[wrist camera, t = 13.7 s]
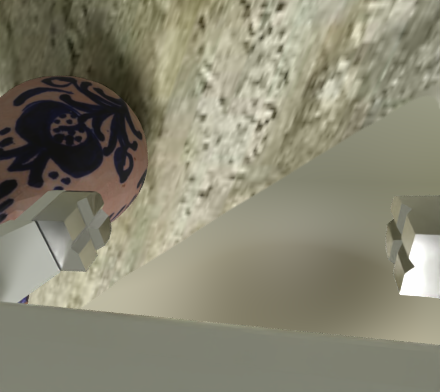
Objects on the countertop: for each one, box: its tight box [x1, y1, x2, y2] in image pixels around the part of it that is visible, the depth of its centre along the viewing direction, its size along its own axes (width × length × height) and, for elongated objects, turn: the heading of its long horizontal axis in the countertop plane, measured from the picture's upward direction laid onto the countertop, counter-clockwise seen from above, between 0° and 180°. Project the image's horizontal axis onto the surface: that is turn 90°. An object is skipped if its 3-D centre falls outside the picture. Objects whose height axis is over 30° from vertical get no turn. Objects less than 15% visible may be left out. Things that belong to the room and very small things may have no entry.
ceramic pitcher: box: [0, 76, 148, 304], centre depth 36 cm, size 18×21×25 cm
